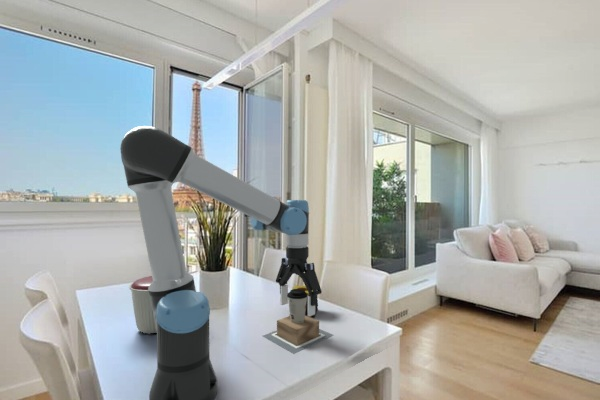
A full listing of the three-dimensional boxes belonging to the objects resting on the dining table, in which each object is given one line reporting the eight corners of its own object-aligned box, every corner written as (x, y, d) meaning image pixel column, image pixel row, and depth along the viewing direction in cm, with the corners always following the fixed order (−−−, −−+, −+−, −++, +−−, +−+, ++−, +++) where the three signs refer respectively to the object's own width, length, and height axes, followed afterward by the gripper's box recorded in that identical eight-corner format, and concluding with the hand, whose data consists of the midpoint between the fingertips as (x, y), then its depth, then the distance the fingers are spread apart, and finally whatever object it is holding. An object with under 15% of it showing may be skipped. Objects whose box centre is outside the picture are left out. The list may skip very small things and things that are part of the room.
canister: (194, 321, 118) (194, 265, 117) (161, 342, 100) (160, 278, 100) (155, 316, 122) (154, 263, 122) (117, 336, 105) (116, 274, 105)
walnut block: (296, 345, 96) (296, 329, 96) (277, 335, 104) (276, 320, 104) (319, 335, 103) (319, 320, 103) (299, 326, 110) (298, 312, 110)
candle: (314, 319, 118) (314, 293, 118) (289, 317, 120) (288, 292, 120) (318, 309, 128) (318, 286, 128) (294, 308, 130) (294, 284, 130)
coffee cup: (289, 326, 99) (289, 295, 99) (285, 317, 106) (284, 288, 105) (310, 323, 101) (310, 293, 101) (304, 315, 107) (304, 287, 107)
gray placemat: (293, 355, 91) (293, 353, 91) (262, 337, 103) (262, 335, 103) (333, 336, 103) (333, 334, 103) (301, 322, 115) (301, 320, 115)
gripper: (332, 249, 96) (332, 317, 96) (282, 241, 115) (282, 297, 115) (316, 252, 91) (315, 323, 91) (266, 243, 110) (265, 302, 110)
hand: (297, 309), depth 103 cm, fingers open, 13 cm apart
